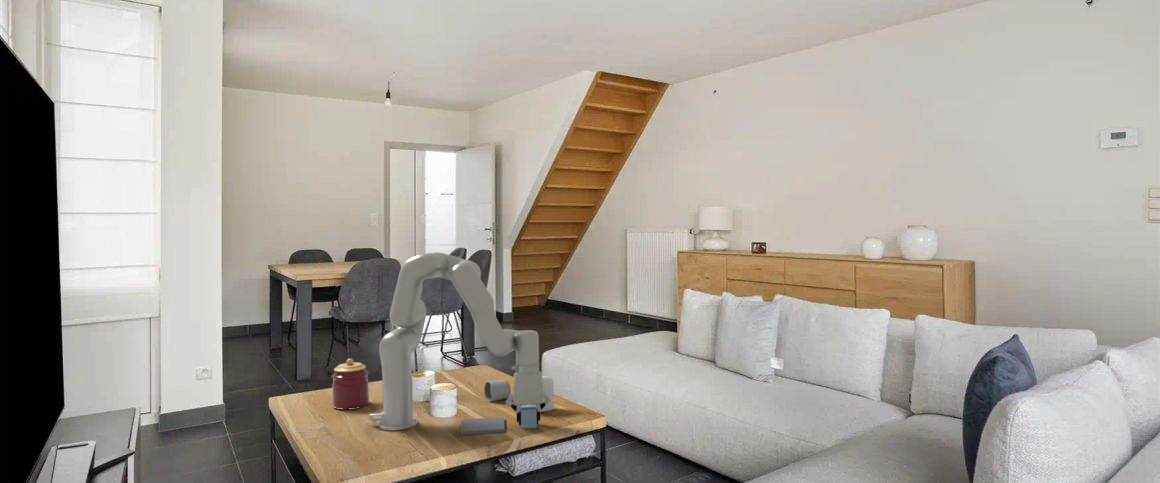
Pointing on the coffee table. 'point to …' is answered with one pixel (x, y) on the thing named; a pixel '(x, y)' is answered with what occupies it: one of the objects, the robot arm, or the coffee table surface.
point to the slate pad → (482, 425)
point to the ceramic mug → (496, 390)
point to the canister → (350, 385)
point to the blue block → (528, 417)
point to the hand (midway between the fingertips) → (528, 422)
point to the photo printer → (547, 393)
